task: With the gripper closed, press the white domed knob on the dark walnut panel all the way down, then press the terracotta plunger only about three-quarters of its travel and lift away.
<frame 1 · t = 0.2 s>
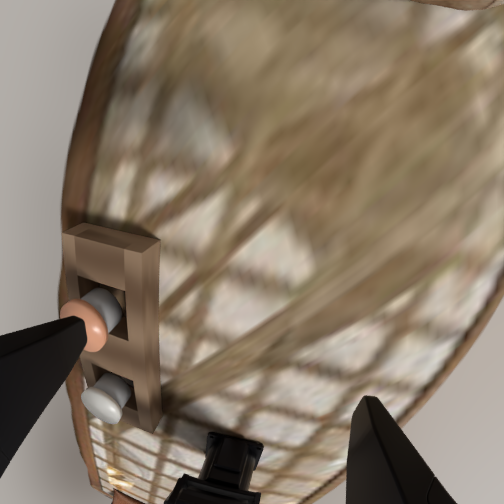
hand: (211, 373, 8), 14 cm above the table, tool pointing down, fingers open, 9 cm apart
terracotta plunger: (93, 317, 22), point 4 cm above the table, slide at 0.0 cm
white domed knob: (108, 397, 26), point 4 cm above the table, slide at 0.0 cm
walnut panel: (123, 336, 28), on the table
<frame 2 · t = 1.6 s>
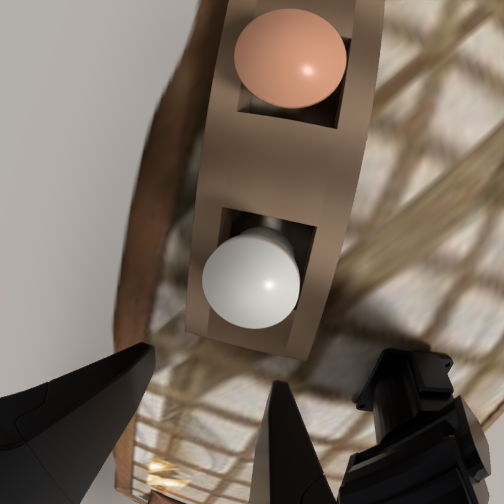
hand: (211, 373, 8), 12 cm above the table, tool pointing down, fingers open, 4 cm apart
terracotta plunger: (292, 65, 12), point 4 cm above the table, slide at 0.0 cm
white domed knob: (256, 271, 16), point 4 cm above the table, slide at 0.0 cm
walnut panel: (283, 164, 18), on the table
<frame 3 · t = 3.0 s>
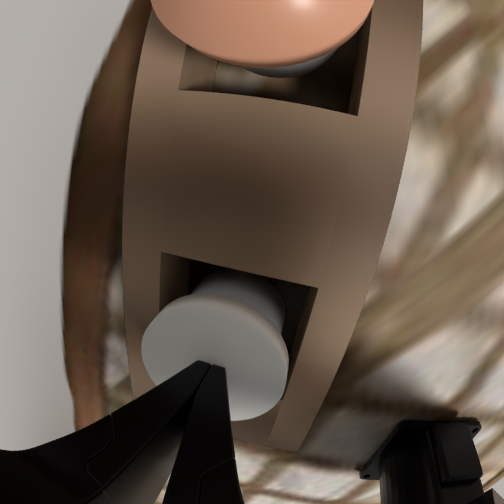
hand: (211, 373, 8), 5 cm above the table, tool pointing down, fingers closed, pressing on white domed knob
white domed knob: (225, 338, 10), point 3 cm above the table, slide at 1.3 cm, touching gripper
walnut panel: (265, 175, 11), on the table
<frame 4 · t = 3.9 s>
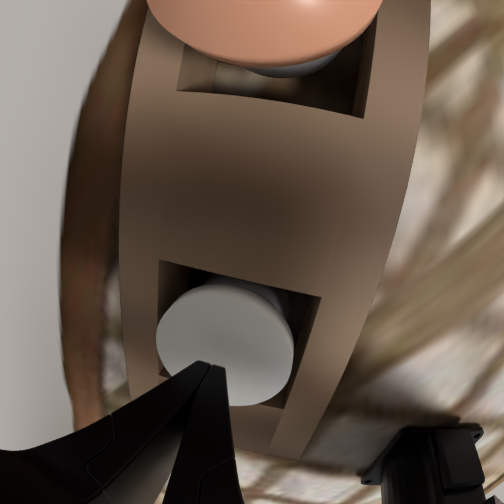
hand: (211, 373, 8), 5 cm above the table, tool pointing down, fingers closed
white domed knob: (234, 327, 11), point 2 cm above the table, slide at 2.5 cm
walnut panel: (266, 179, 11), on the table
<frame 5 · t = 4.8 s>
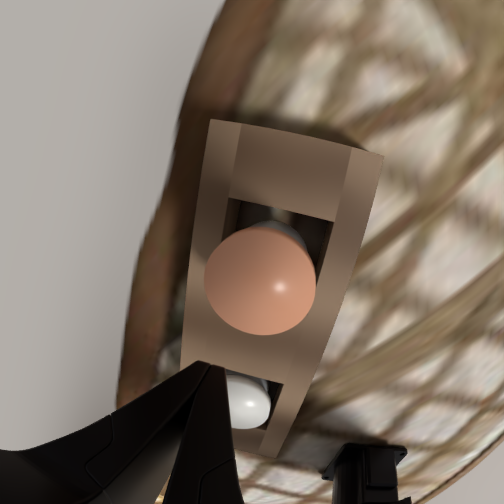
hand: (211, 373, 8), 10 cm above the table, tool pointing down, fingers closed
terracotta plunger: (265, 270, 14), point 4 cm above the table, slide at 0.0 cm
white domed knob: (240, 389, 19), point 2 cm above the table, slide at 2.5 cm
walnut panel: (260, 315, 20), on the table
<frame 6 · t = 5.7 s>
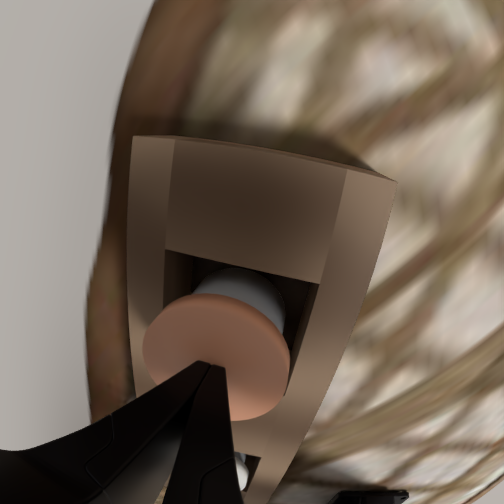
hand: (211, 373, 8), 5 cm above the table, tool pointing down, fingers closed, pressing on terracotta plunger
terracotta plunger: (226, 338, 10), point 3 cm above the table, slide at 1.0 cm, touching gripper
white domed knob: (214, 452, 15), point 2 cm above the table, slide at 2.5 cm
walnut panel: (232, 375, 15), on the table
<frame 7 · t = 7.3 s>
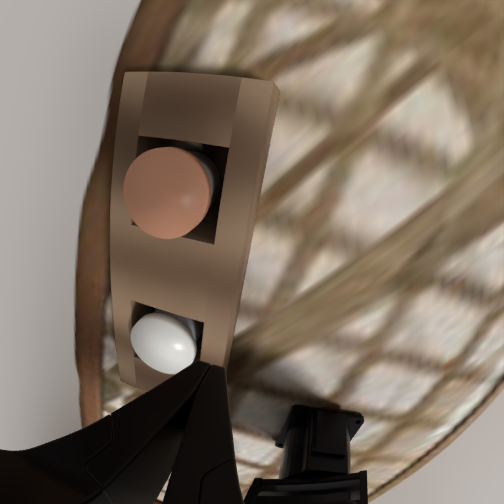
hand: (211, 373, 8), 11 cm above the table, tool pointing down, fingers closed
terracotta plunger: (177, 187, 16), point 3 cm above the table, slide at 1.7 cm
white domed knob: (171, 332, 20), point 2 cm above the table, slide at 2.5 cm
walnut panel: (186, 255, 20), on the table
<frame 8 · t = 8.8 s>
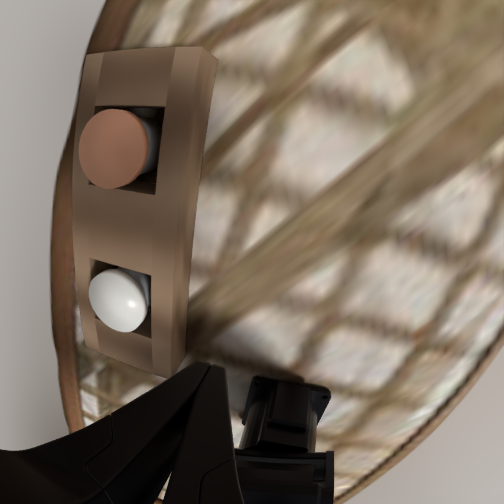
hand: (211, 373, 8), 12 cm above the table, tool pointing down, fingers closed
terracotta plunger: (125, 147, 16), point 3 cm above the table, slide at 1.7 cm
white domed knob: (127, 292, 21), point 2 cm above the table, slide at 2.5 cm
walnut panel: (141, 217, 21), on the table
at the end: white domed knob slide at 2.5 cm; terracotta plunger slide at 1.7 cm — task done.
